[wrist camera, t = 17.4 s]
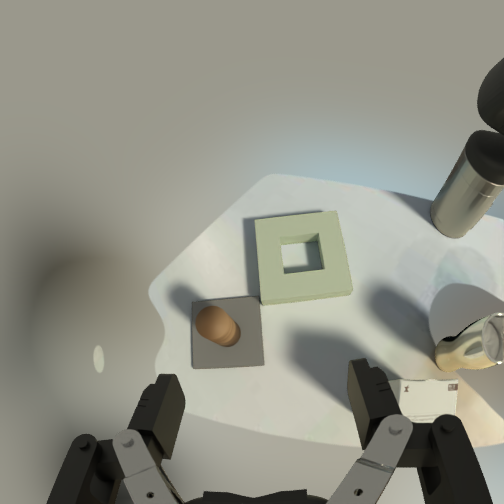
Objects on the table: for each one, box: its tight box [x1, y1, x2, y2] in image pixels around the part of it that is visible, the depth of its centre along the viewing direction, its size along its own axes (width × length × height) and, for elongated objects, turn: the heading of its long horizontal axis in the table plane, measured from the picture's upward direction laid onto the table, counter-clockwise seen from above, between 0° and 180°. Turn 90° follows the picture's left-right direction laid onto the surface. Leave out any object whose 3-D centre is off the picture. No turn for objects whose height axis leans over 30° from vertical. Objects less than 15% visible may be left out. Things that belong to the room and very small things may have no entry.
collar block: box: [255, 211, 353, 306], centre depth 49 cm, size 14×14×3 cm
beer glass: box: [435, 312, 504, 372], centre depth 33 cm, size 7×7×15 cm
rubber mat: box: [192, 296, 264, 369], centre depth 46 cm, size 11×11×1 cm
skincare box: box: [388, 379, 458, 423], centre depth 32 cm, size 8×6×15 cm
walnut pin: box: [195, 306, 241, 347], centre depth 42 cm, size 4×4×9 cm
